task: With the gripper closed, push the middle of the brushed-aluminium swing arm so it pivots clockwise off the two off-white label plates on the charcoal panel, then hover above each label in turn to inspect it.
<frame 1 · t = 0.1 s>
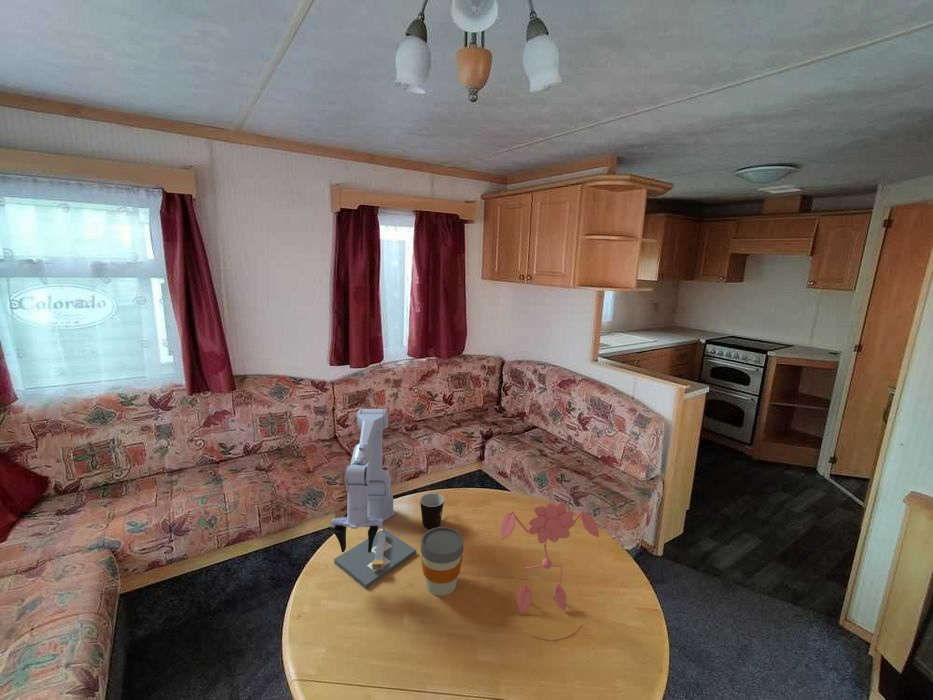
hand: (356, 550, 122), 10 cm above the table, tool pointing down, fingers open, 7 cm apart
label panel: (375, 558, 134), on the table
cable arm: (380, 549, 133), point 3 cm above the table, hinge at 0.0°
coffee mug: (434, 522, 153), on the table
reusable coffee cup: (441, 584, 124), on the table
figurine: (543, 617, 114), on the table
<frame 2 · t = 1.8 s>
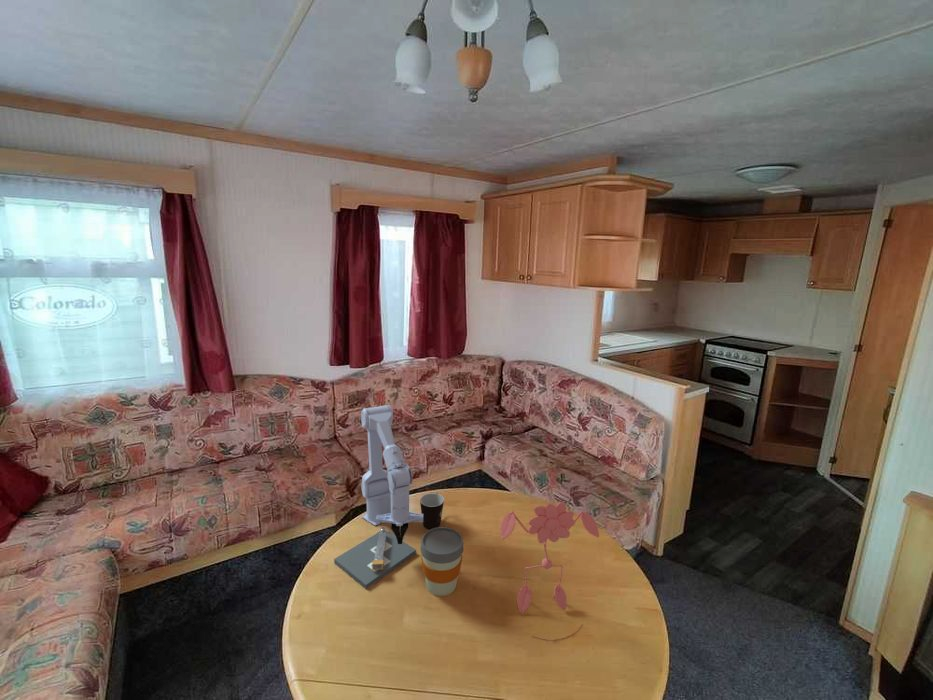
hand: (400, 542, 133), 6 cm above the table, tool pointing down, fingers closed
nothing on the table moved.
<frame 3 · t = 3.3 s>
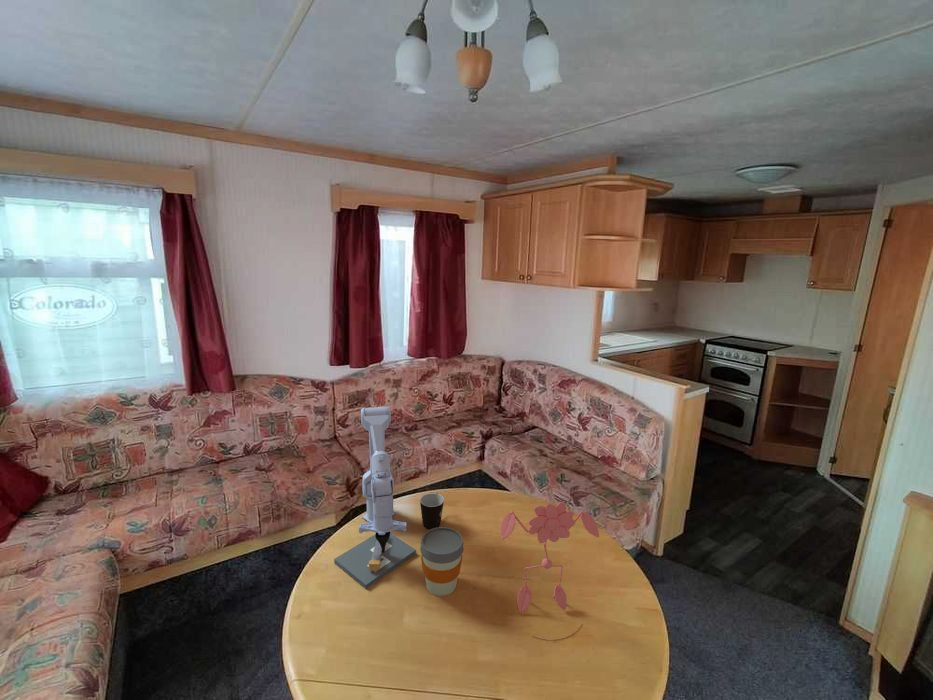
hand: (383, 550, 133), 3 cm above the table, tool pointing down, fingers closed, pressing on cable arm
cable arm: (378, 549, 133), point 3 cm above the table, hinge at -3.9°, touching gripper
everything else where it was.
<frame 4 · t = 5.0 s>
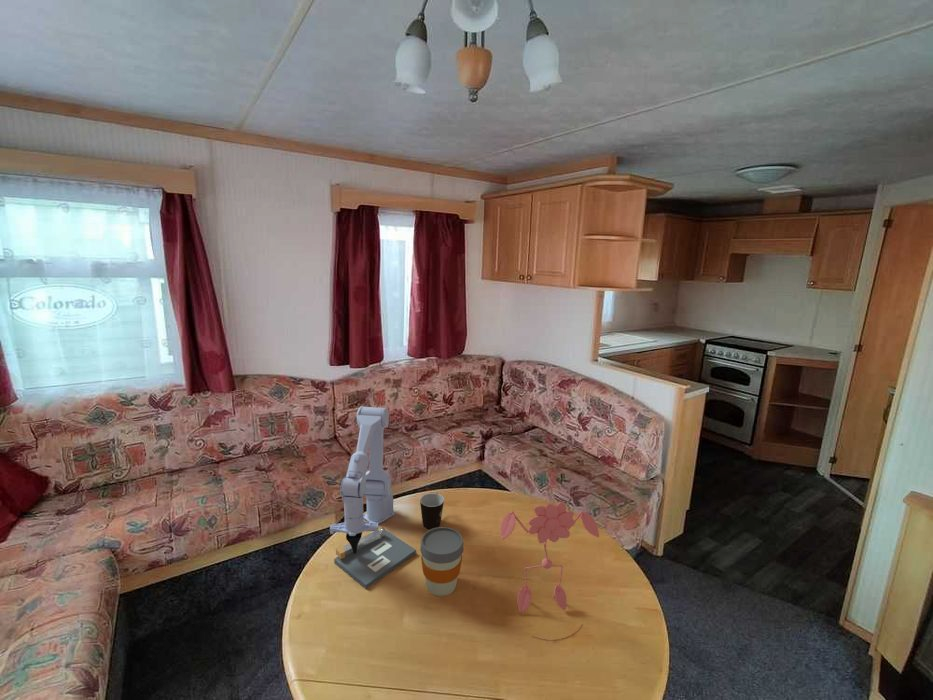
hand: (355, 551, 132), 3 cm above the table, tool pointing down, fingers closed, pressing on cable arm
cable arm: (359, 543, 136), point 3 cm above the table, hinge at -52.6°, touching gripper
everything else where it was.
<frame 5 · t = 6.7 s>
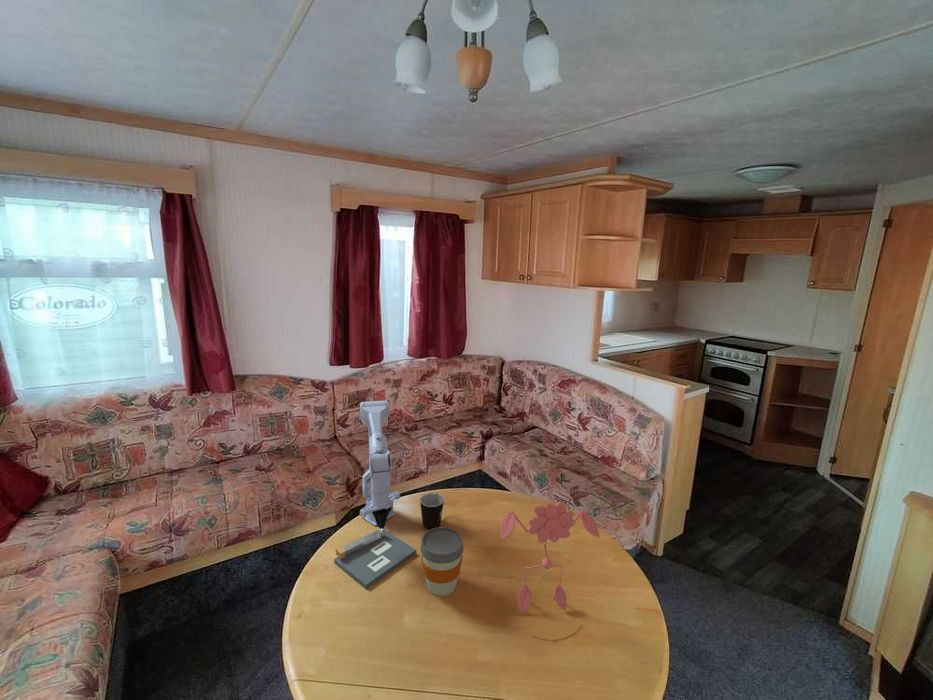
hand: (380, 526, 135), 9 cm above the table, tool pointing down, fingers closed
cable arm: (359, 543, 136), point 3 cm above the table, hinge at -52.8°
everything else where it was.
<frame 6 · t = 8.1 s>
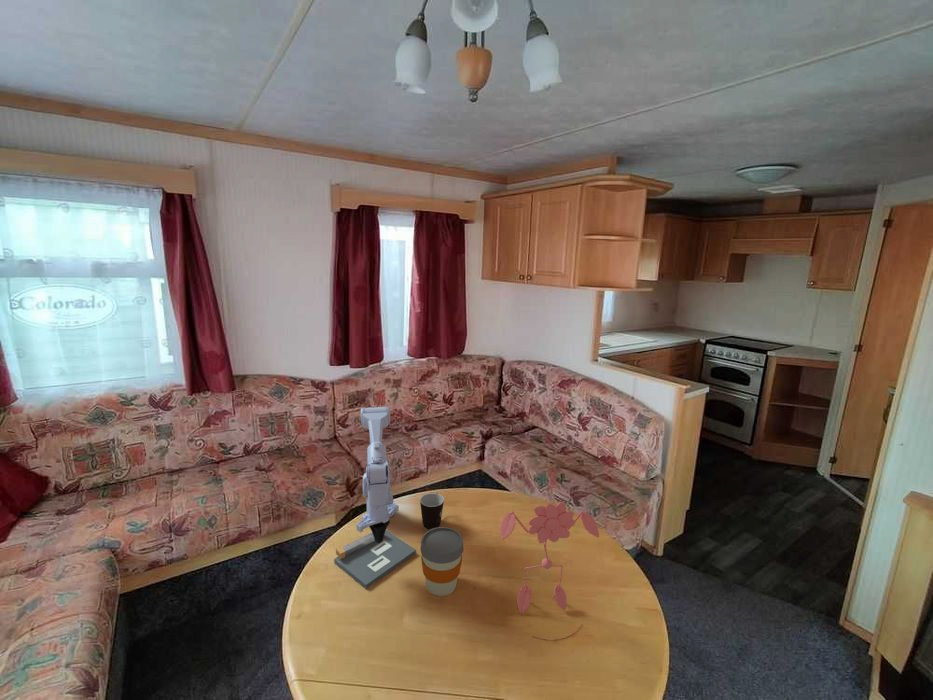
hand: (378, 541, 128), 9 cm above the table, tool pointing down, fingers closed
nothing on the table moved.
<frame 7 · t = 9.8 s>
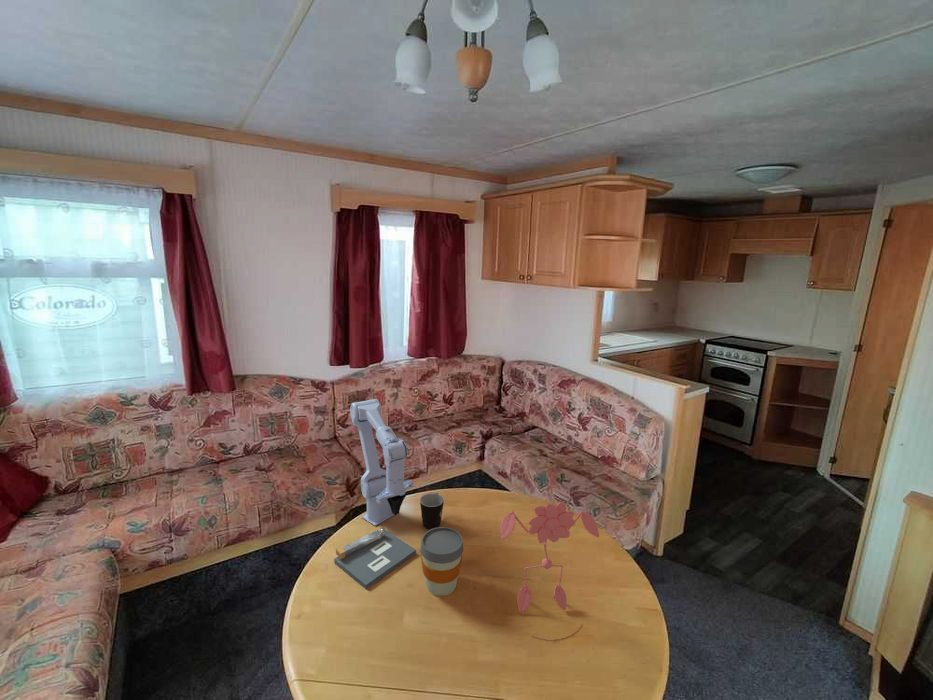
hand: (395, 513, 140), 10 cm above the table, tool pointing down, fingers closed
nothing on the table moved.
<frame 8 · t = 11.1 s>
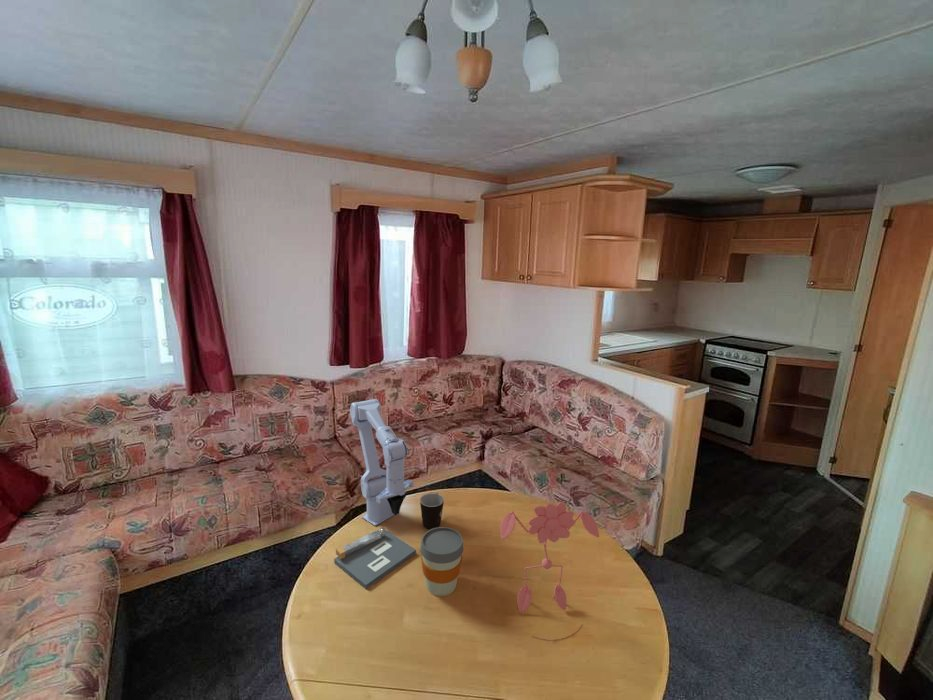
hand: (395, 513, 140), 10 cm above the table, tool pointing down, fingers closed
nothing on the table moved.
at the end: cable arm at -53° (first picture: +0°); coffee mug moved 0.2 cm from its start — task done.
